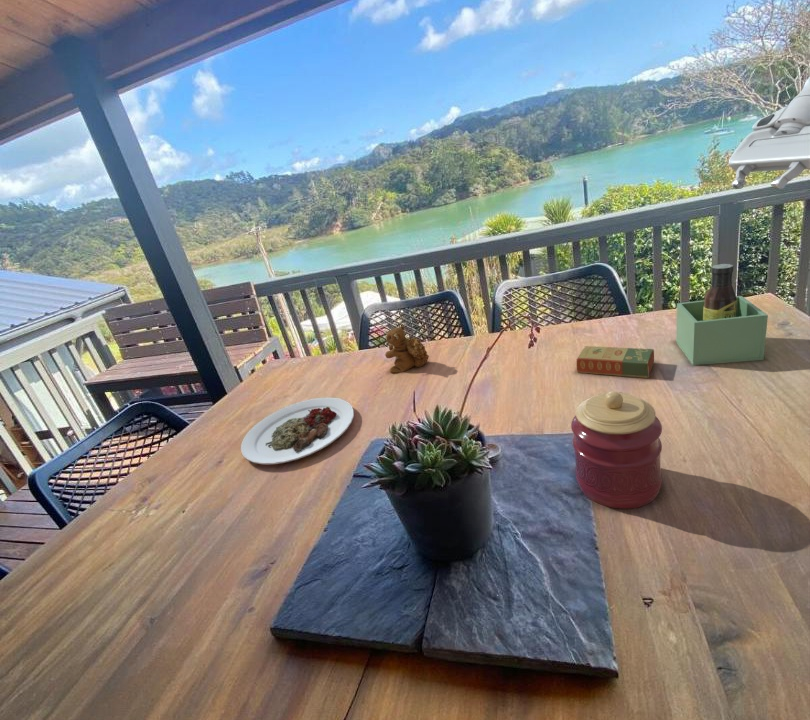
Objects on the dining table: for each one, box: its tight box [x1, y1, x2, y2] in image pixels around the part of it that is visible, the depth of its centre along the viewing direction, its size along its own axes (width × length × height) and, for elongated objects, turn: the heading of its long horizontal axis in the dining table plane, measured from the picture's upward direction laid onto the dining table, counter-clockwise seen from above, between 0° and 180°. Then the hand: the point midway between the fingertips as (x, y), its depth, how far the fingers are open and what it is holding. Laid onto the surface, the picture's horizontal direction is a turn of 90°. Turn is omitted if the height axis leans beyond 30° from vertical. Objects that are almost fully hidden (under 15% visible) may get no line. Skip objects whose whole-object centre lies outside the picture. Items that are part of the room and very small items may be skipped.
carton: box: [576, 345, 655, 379], centre depth 107 cm, size 8×16×4 cm, turn 55°
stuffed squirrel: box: [384, 325, 430, 374], centre depth 135 cm, size 10×14×13 cm
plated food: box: [240, 396, 355, 465], centre depth 114 cm, size 30×30×3 cm
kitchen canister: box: [570, 390, 663, 510], centre depth 70 cm, size 13×13×18 cm
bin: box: [675, 295, 769, 366], centre depth 103 cm, size 14×14×11 cm
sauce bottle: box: [703, 263, 737, 321], centre depth 101 cm, size 6×6×20 cm
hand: (754, 187), depth 90 cm, fingers open, 8 cm apart
